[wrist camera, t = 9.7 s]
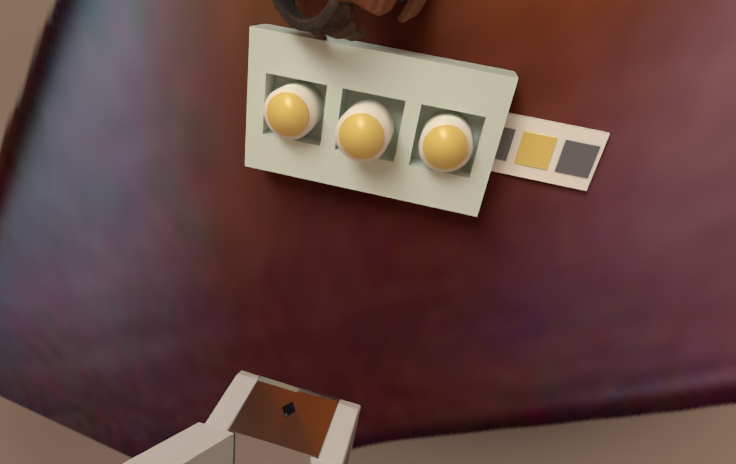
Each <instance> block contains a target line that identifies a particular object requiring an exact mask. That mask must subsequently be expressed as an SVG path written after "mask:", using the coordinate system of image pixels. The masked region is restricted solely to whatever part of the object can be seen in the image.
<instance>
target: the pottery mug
mask: <svg viewBox="0 0 736 464" xmlns="http://www.w3.org/2000/svg"><path fill="white" fill-rule="evenodd" d="M272 1H273V3H274V5H275V8H276V9H277V11H278V12H279V13H280V15H281V16H282V18H283V19H284V20H285V21H286V22H287V23H288V24H289V25H290V26H291V27H293V28H295V29H297V30H298V31H308V32H309V33H310V34H312V35H313V36H314V37H316V38H318V39H321V40H327V36H329V37H332V38H335V39H346V40H349V41H355V40H357V39H359V38H361V37H363V36H364V35H365V33H366V31H365V30H364V29H363V28H362V27H360V26H358V25H357V21H356V18H355V16H354V12H353V5H352V4H356V5H357V6H359V7H360V8H363V9H365V10H367V11H369V12H371V13H373V14H374V15H377V16H380V15H383V14H386V13H388V12H390V11H391V9H392V8H393V6H394V4H395V2H396V1H398V2H402V1H406V0H329V2H328V3H327V5H326V7H325V8H324V10H323V11H322V12H321V13H320V14H318V15H317V16H315V17H312V18H308V17H306V16H304V15H303V14H301V12H300V11H299V9H298V8H297V6H296V5H295V0H272ZM426 1H427V0H408V1H407V3H406V5H405V7H404V8H403V10H402V11H401V12H400V14H399V15H398V17H397V19H398V21H399V22H401V23H404V22H406V21H408V20H409V19H411V18H413V17H415V16H416V15H417V14H418V13H419V12H420V11H421V9H422V8H423V6H424V4H425V3H426ZM323 33H325V34H326V35H327V36H326V35H324V34H323Z"/></svg>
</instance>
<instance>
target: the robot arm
mask: <svg viewBox="0 0 736 464" xmlns="http://www.w3.org/2000/svg"><path fill="white" fill-rule="evenodd" d="M360 409H361V405H358V404H354V403H351V402H347V401H344V400H340V399H338V398H335V397H331V396H327V395H324V394H320V393H316V392H313V391H309V390H306V389H302V388H300V389H299V388H296V387H293V386H290V385H287V384H284V383H281V382H278V381H275V380H271V379H268V378H265V377H262V376H258V375H255V374H252V373H249V372H245V371H241V372H239V373H238V374H237V375H236V376H235V378H234V380H233V381H232V383H231V384H230V386H229V387H228V389H227V390H226V392H225V393H224V395H223V397H222V398H221V400H220V401H219V403H218V404H217V406H216V407H215V409H214V410H213V412H212V414H211V415H210V417H209V418H208V420H207V421H206V423H205V424H204V423H200V422H198V423H197V424H195V425H193V426H191V427H189V428H187V429H185V430H184V431H182V432H180V433H178V434H176V435H174V436H173V437H171V438H169V439H167V440H165V441H163V442H161V443H160V444H158V445H156V446H154V447H152V448H150V449H149V450H147V451H145V452H143V453H141V454H139V455H137V456H136V457H134V458H132V459H130V460H128V461H126V462H125V463H123V464H348V461H349V457H350V453H351V449H352V445H353V441H354V437H355V432H356V427H357V423H358V418H359V414H360Z"/></svg>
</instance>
